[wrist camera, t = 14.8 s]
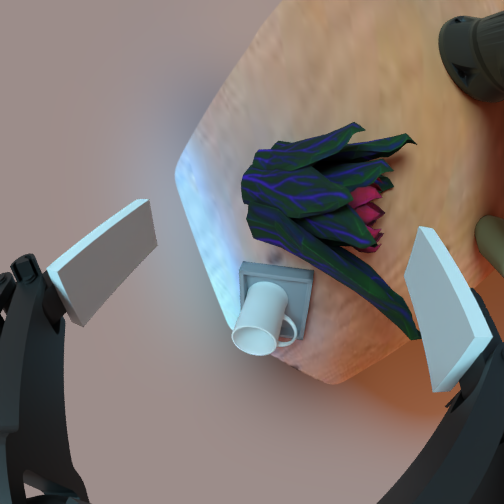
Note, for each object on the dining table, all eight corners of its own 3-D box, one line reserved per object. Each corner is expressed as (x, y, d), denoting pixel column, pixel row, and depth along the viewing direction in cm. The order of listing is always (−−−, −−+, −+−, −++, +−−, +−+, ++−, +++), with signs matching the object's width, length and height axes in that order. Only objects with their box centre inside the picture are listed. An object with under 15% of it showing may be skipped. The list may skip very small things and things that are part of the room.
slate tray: (313, 270, 50) (312, 279, 48) (304, 330, 59) (302, 340, 57) (243, 261, 53) (239, 270, 51) (245, 321, 62) (241, 330, 60)
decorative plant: (298, 131, 47) (456, 174, 35) (263, 264, 51) (416, 318, 40) (250, 77, 28) (504, 138, 16) (197, 283, 33) (439, 375, 21)
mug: (309, 301, 53) (303, 347, 44) (288, 325, 58) (279, 369, 48) (258, 274, 53) (241, 317, 43) (240, 300, 58) (223, 342, 48)
